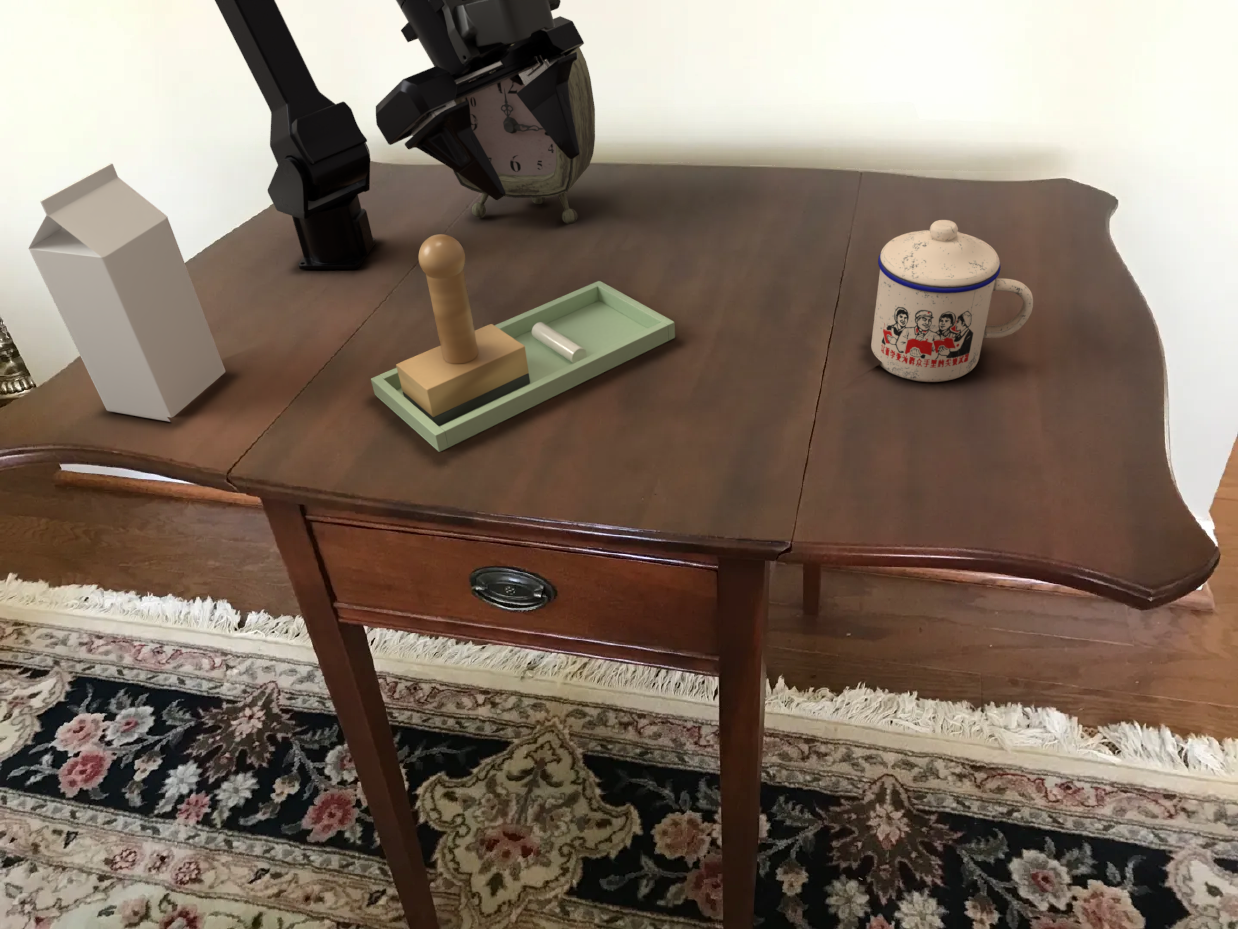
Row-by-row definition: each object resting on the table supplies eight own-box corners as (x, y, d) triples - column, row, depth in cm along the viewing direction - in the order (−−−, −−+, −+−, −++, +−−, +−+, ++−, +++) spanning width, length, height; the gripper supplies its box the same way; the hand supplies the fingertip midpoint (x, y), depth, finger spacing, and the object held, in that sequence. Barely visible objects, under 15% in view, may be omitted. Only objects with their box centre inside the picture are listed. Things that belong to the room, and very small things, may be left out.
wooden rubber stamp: (435, 428, 75) (399, 268, 66) (404, 401, 78) (366, 245, 69) (530, 383, 79) (508, 227, 70) (497, 359, 82) (472, 207, 73)
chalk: (588, 357, 81) (583, 344, 80) (575, 368, 80) (570, 354, 79) (547, 331, 85) (542, 318, 84) (534, 341, 84) (529, 328, 83)
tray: (440, 459, 73) (435, 435, 71) (376, 401, 79) (370, 378, 78) (675, 344, 84) (674, 321, 82) (601, 302, 90) (599, 280, 89)
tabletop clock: (458, 223, 106) (414, -25, 91) (489, 190, 113) (454, -46, 97) (581, 232, 102) (558, -25, 87) (606, 198, 109) (589, -47, 94)
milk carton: (229, 378, 84) (149, 166, 72) (175, 425, 79) (79, 204, 67) (163, 368, 86) (75, 160, 74) (107, 413, 81) (2, 197, 69)
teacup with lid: (863, 379, 77) (879, 246, 70) (871, 323, 84) (886, 196, 77) (1021, 395, 75) (1054, 257, 67) (1016, 335, 81) (1046, 204, 74)
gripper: (391, -42, 61) (519, 180, 65) (573, -95, 73) (672, 96, 76) (321, 43, 70) (438, 234, 74) (494, -17, 81) (587, 152, 85)
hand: (539, 176), depth 77 cm, fingers open, 9 cm apart
